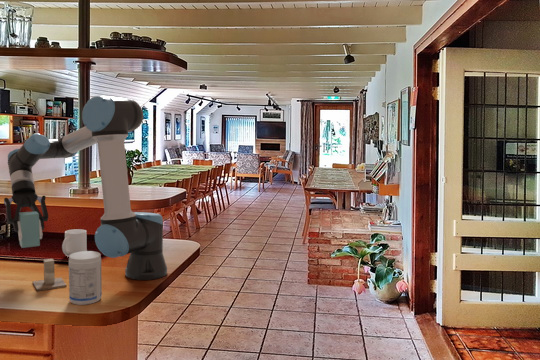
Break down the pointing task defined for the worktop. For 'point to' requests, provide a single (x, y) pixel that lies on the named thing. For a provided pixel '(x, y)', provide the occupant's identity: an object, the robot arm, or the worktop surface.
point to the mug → (74, 241)
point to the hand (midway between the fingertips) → (31, 237)
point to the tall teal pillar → (29, 229)
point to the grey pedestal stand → (49, 278)
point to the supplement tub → (85, 277)
